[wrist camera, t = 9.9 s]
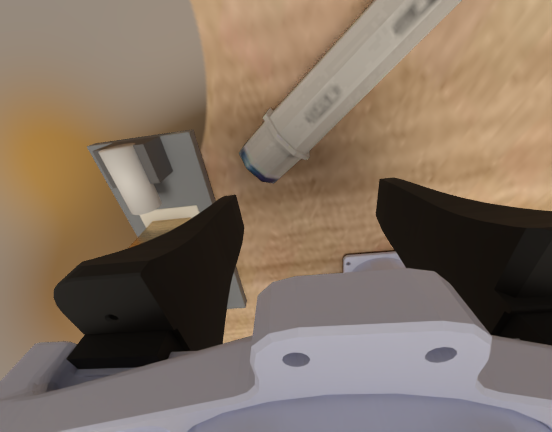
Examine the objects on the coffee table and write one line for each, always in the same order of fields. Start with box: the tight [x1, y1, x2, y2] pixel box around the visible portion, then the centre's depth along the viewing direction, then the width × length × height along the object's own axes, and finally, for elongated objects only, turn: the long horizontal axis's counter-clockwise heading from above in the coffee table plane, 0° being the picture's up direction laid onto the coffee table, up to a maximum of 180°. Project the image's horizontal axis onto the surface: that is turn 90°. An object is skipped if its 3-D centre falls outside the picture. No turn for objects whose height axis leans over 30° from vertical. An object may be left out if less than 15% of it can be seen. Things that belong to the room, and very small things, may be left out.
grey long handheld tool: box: [239, 0, 462, 183], centre depth 13 cm, size 5×7×25 cm
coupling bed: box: [87, 130, 247, 309], centre depth 23 cm, size 22×9×5 cm, turn 8°
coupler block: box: [129, 217, 191, 248], centre depth 22 cm, size 7×4×5 cm, turn 8°
